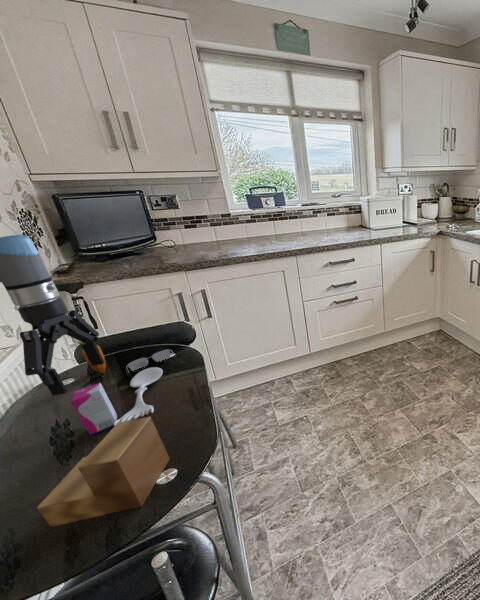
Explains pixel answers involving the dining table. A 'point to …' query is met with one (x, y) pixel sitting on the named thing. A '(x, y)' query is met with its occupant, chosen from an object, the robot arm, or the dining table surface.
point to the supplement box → (94, 408)
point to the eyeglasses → (143, 361)
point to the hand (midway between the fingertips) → (80, 378)
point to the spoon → (141, 382)
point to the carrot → (97, 368)
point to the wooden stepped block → (110, 475)
